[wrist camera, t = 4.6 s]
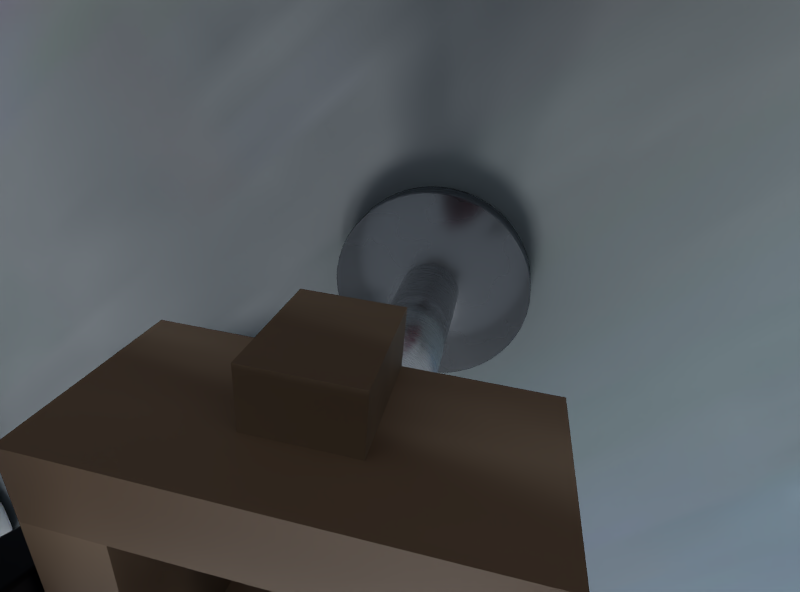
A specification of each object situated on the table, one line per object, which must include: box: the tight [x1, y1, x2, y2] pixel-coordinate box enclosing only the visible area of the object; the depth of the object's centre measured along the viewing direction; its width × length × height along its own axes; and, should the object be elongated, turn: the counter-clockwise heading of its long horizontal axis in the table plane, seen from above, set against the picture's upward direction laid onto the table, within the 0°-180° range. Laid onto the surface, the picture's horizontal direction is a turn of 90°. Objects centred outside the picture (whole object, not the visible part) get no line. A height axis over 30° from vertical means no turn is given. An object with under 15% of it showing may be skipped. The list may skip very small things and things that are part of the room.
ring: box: [0, 289, 589, 592], centre depth 8 cm, size 7×6×3 cm
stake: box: [337, 187, 530, 373], centre depth 15 cm, size 7×7×8 cm
